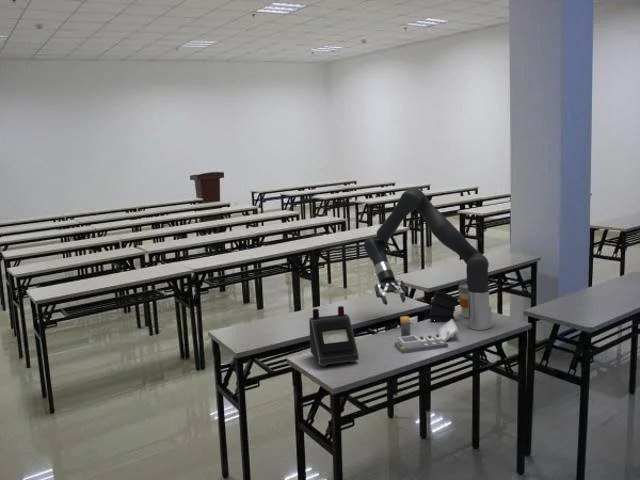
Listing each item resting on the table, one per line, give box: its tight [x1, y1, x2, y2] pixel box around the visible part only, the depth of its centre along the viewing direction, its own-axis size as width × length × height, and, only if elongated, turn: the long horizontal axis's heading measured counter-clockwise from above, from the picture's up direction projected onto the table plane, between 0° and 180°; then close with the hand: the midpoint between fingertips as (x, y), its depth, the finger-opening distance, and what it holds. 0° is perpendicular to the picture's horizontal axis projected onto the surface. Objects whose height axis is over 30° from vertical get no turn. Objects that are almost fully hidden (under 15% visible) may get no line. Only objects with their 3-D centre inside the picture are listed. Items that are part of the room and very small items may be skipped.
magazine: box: [428, 289, 459, 323], centre depth 280 cm, size 4×13×15 cm, turn 88°
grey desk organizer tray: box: [394, 333, 449, 354], centre depth 249 cm, size 20×10×4 cm, turn 100°
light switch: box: [437, 318, 459, 342], centre depth 259 cm, size 8×5×14 cm
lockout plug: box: [399, 315, 411, 337], centre depth 258 cm, size 4×4×10 cm
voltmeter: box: [308, 305, 360, 368], centre depth 239 cm, size 16×16×20 cm
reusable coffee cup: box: [457, 282, 469, 319], centre depth 284 cm, size 13×13×15 cm
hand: (395, 302), depth 267 cm, fingers open, 8 cm apart
